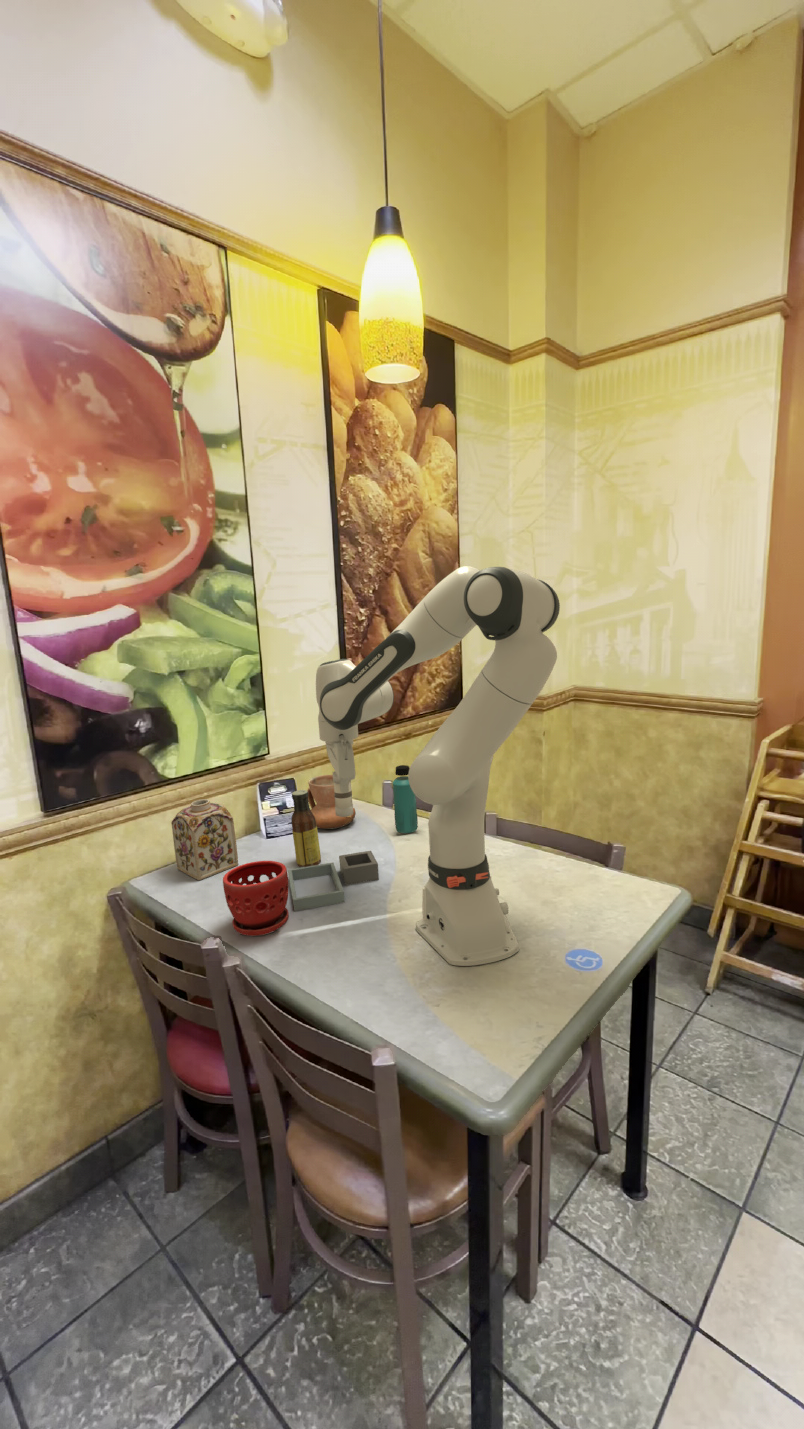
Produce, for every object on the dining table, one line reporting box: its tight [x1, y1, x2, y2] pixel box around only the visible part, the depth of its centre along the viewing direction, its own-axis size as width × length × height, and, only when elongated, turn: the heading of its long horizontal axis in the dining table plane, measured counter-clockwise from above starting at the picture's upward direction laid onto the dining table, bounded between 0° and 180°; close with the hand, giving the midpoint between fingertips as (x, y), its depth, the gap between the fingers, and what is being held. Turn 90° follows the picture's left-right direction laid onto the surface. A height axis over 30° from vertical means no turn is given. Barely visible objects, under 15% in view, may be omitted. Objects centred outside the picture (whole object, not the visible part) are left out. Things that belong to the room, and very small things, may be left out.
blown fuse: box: [332, 770, 354, 817], centre depth 141 cm, size 4×4×10 cm
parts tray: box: [287, 862, 346, 912], centre depth 140 cm, size 16×11×4 cm
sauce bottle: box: [290, 789, 322, 868], centre depth 154 cm, size 6×6×20 cm
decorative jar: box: [170, 798, 239, 881], centre depth 157 cm, size 12×12×18 cm
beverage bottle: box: [392, 764, 419, 834], centre depth 171 cm, size 6×7×20 cm
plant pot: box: [222, 860, 290, 937], centre depth 127 cm, size 13×13×12 cm
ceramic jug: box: [306, 774, 357, 830], centre depth 183 cm, size 18×14×14 cm
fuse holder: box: [338, 850, 380, 886], centre depth 146 cm, size 8×8×5 cm
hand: (342, 788), depth 141 cm, fingers closed on blown fuse, 4 cm apart
